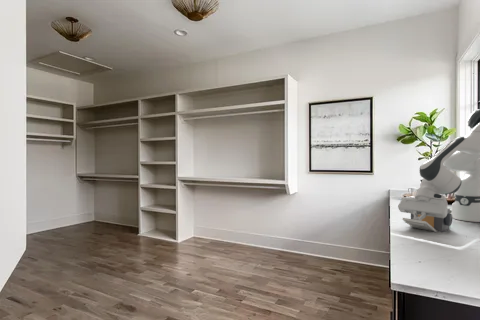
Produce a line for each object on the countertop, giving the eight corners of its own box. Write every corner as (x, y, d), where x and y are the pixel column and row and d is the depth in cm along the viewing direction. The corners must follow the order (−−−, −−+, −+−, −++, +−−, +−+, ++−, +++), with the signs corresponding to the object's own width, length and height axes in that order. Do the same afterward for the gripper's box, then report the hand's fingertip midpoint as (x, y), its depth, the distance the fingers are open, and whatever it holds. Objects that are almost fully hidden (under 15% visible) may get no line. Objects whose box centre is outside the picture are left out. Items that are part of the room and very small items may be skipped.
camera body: (418, 225, 152) (418, 204, 152) (453, 231, 139) (453, 209, 139) (410, 227, 146) (410, 206, 146) (446, 234, 134) (446, 211, 134)
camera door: (414, 226, 145) (402, 217, 137) (437, 230, 137) (426, 221, 129) (413, 230, 144) (402, 221, 137) (436, 234, 136) (425, 225, 129)
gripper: (401, 192, 147) (391, 212, 141) (448, 196, 131) (439, 220, 125) (405, 200, 150) (396, 220, 144) (451, 205, 133) (443, 229, 127)
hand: (416, 220), depth 134 cm, fingers closed, pressing on camera door
